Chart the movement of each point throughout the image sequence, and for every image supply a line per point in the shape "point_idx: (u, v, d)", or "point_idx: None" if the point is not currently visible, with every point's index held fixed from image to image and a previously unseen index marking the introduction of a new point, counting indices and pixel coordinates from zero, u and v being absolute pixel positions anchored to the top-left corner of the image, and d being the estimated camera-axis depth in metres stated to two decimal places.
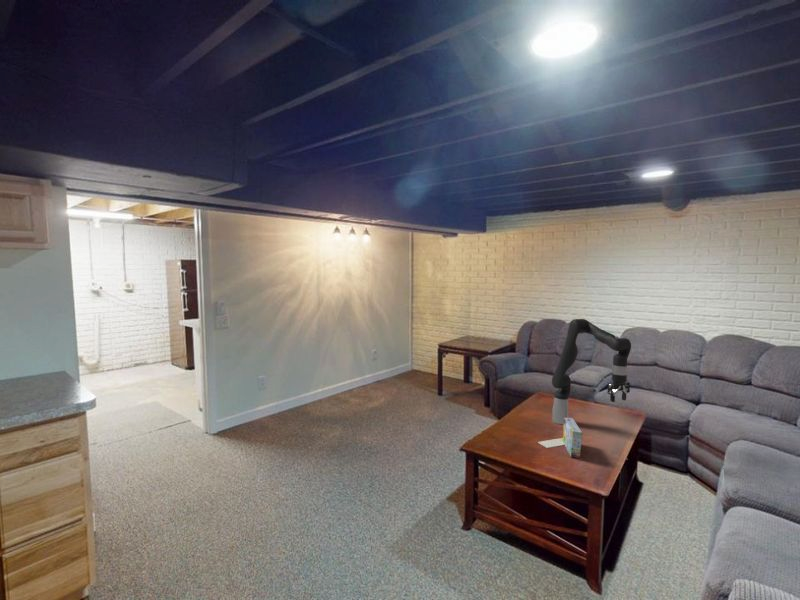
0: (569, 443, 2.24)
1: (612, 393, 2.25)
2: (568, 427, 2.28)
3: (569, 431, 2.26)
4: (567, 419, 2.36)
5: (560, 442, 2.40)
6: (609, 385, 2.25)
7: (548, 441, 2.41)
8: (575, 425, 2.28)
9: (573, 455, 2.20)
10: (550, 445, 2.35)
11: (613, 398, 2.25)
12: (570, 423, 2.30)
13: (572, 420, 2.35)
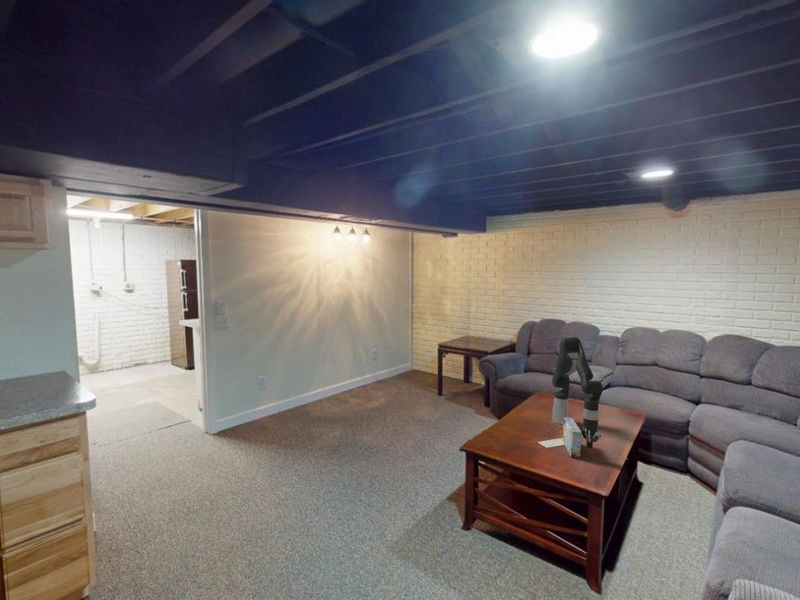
0: (569, 443, 2.24)
1: None
2: (568, 427, 2.28)
3: (569, 431, 2.26)
4: (566, 419, 2.36)
5: (560, 442, 2.40)
6: (598, 437, 2.12)
7: (548, 441, 2.41)
8: (575, 425, 2.28)
9: (573, 455, 2.20)
10: (550, 445, 2.35)
11: None
12: (570, 423, 2.30)
13: (572, 420, 2.35)
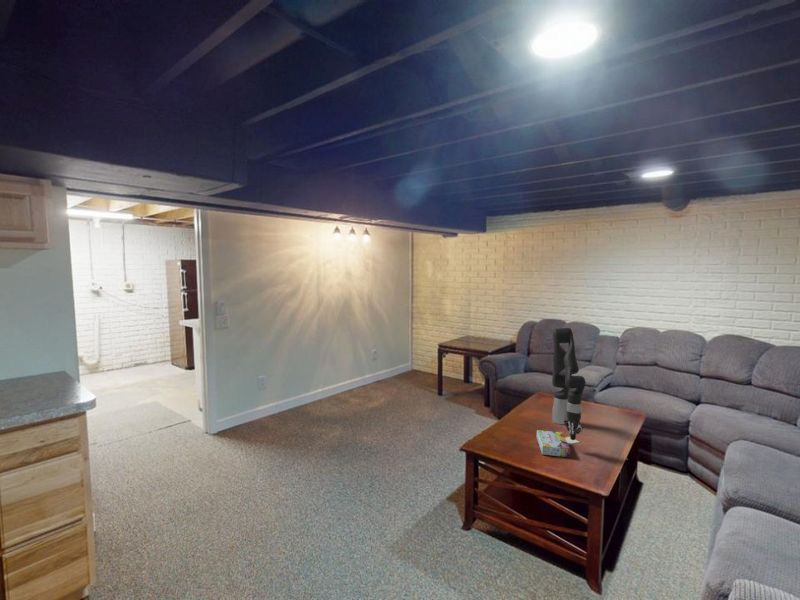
0: None
1: None
2: None
3: None
4: (537, 439, 2.40)
5: None
6: (580, 429, 2.23)
7: None
8: (539, 440, 2.32)
9: (567, 455, 2.21)
10: None
11: None
12: (538, 442, 2.35)
13: (537, 434, 2.39)
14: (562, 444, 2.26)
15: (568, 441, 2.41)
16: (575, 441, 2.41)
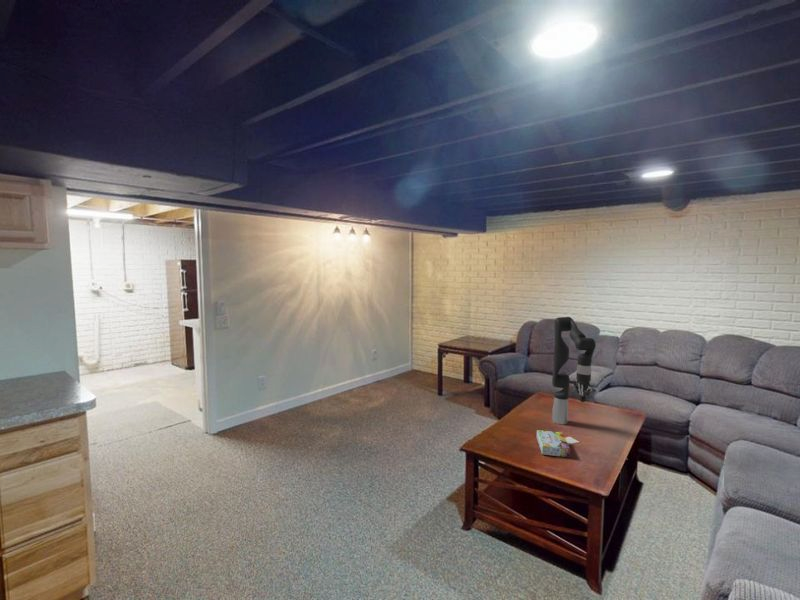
0: None
1: None
2: None
3: None
4: (537, 439, 2.40)
5: None
6: (590, 390, 2.23)
7: None
8: (539, 440, 2.32)
9: (567, 455, 2.21)
10: None
11: None
12: (538, 442, 2.35)
13: (537, 434, 2.39)
14: (562, 444, 2.26)
15: (568, 441, 2.41)
16: (575, 441, 2.41)
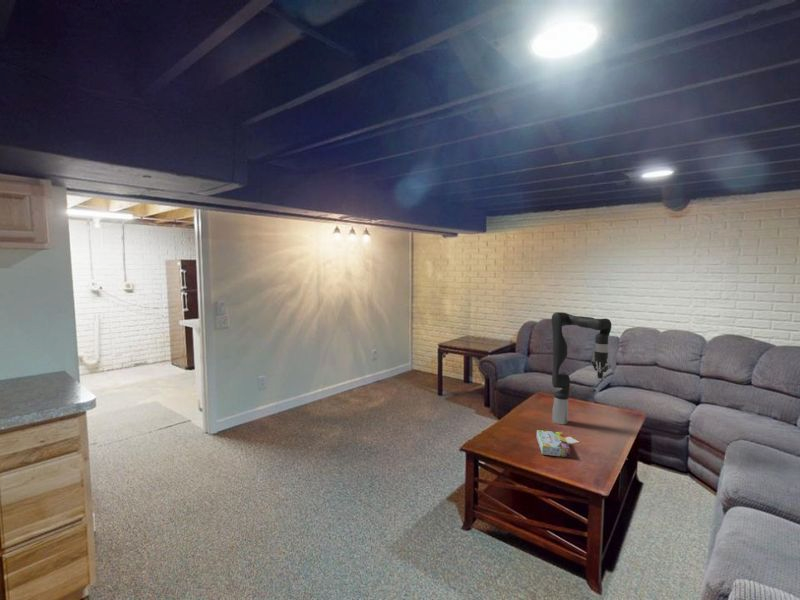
0: None
1: None
2: None
3: None
4: (537, 439, 2.40)
5: None
6: (608, 367, 2.41)
7: None
8: (539, 440, 2.32)
9: (567, 455, 2.21)
10: None
11: None
12: (538, 442, 2.35)
13: (537, 434, 2.39)
14: (562, 444, 2.26)
15: (568, 441, 2.41)
16: (575, 441, 2.41)
